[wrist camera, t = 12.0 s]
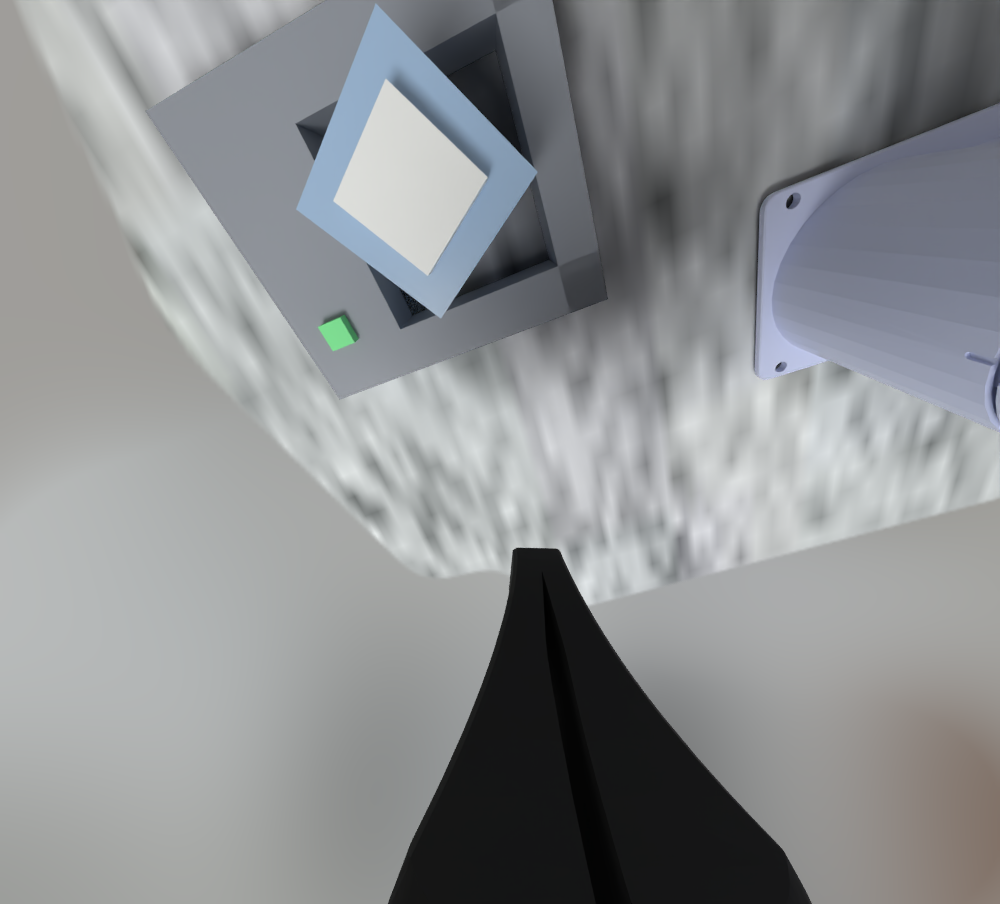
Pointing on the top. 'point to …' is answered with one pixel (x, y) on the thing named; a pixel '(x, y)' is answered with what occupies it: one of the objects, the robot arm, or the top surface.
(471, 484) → the top surface
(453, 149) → the plug
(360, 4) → the frame
